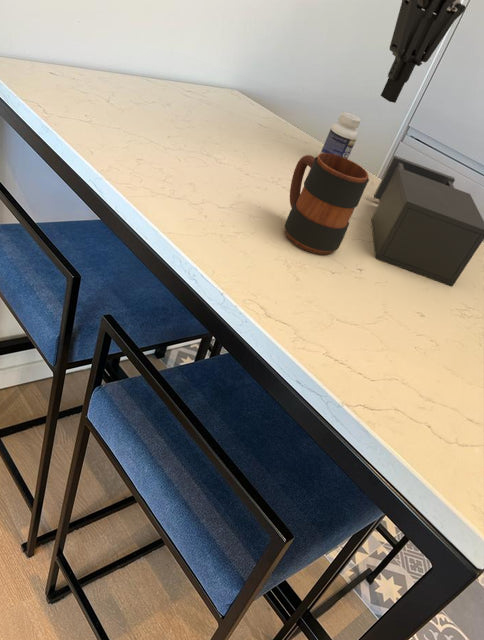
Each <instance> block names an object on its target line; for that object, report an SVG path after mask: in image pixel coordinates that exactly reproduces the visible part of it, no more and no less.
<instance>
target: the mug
mask: <svg viewBox="0 0 484 640" xmlns="http://www.w3.org/2000/svg"><path fill="white" fill-rule="evenodd" d="M320 153H321V152H320ZM320 153H318V155H317V156H316V157H315V156H313V155H311V154H306V155H303V156H302V157H301V158H299V160H298V161H297V163H296V165H295V168H294V170H293V174H292V177H291V182H290V188H289V204H290V211H289V213H288V215H287V217H286V220H285V223H284V230H285V235H286V237H287V238H288V240H289V241H290V242H291V243H293V244H294V245H295V246H297V247H298V248H299V249H302V250H305V251H306V252H310V253H312V254H316V255H330V254H332V253H334V252H335V251H337V250H338V249H339V248H340V246H341V244H342V243H343V240H344V238H345V236H346V233H347V231H348V228H349V226H350V219H351V217H352V215H353V213H354V211H355V209H356V208H357V207H358V206H359V204H360V201H361V199H362V196H363V194H364V191H365V189H366V187H367V185H368V183H369V180H370V178H369V173H368V171H367V170H366V169H365V168H363V167H362V166H361V165H360V164H358V163H356V162H354V161H353V160H350V159H349V158H348V159H346V158H344V157H341V156H338V155H334V154H329V153H321V154H320ZM307 167H309V168H310V169H309V171H308V173H307V175H306V177H305V179H304V175H305V172H306V169H307ZM303 180H304V181H303ZM302 183H303V187H302Z"/></svg>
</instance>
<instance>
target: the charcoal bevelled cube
mask: <svg viewBox="0 0 484 640" xmlns="http://www.w3.org/2000/svg"><path fill="white" fill-rule="evenodd" d="M376 207H377V208H376V209H375V211H374V212H373V216H372V217H371V219H370V222H371V229H372V238H373V248H374V255H375V259H376V260H379V261H382V262H384V263H387V264H391V265H392V266H395V267H398V268H401V269H404V270H407V271H408V272H409V271H410V272H412V273H414V274H418V275H421V276H423V277H426V278H428V279H431V280H433V281H437V282H439V283H442V284H444V285H447V286H450V287H454V285H455V284H456V282H457V280H458V279H459V278H460V276H461V274H462V273H463V272H464V270H465V268H466V267H467V266H468V264H469V263H470V261H471V259H472V258H473V256H474V255H475V254H476V252H477V251H478V249H479V247H480V246H481V244H482V243H483V242H484V218H483V217H482V214H481V213H480V211H479V209H478V207H477V205H476V203H475V200H474V199H473V197H472V194H471V193H468V192H466V191H463V190H461V189H458V188H455V187H454V188H453V187H450V186H447V185H445V184H442V183H439V182H436V181H434V180H431V179H428V178H426V177H423V176H420V175H418V174H415V173H412V172H410V171H407V170H404V169H402V168H399V167H398V168H397V170H396V172H395V174H394V176H393V178H392V180H391V182H390V184H389V186H388V188H387V190H386V192H385V194H384V196H383V198H382V199H381V201H380V203H379V204H378V205H377V206H376Z"/></svg>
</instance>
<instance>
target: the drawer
mask: <svg viewBox="0 0 484 640" xmlns="http://www.w3.org/2000/svg"><path fill="white" fill-rule="evenodd" d="M398 167H399V168H402V169H404V170H407V171H410V172H412V173H415V174H418V175H420V176H423V177H426V178H428V179H431V180H434V181H436V182H439V183H442V184H445V185H447V186H450V187H453V188H455V186H454V183H455V181H456V179H455V177H454V176H451V175H448V174H445V173H443V172H440V171H437V170H435V169H433V168H429V167H427V166H424V165H421V164H419V163H416V162H414V161H411V160H409V159H405V158H402V157H400V156H398V155H393V157H392V159H391V161H390V162H389V164H388V167H387V169H386V170H385V173H384V174H383V176H382V178H381V180H380V182H379V184H378V187H377V189H376V190H375V192H374V194H373V198H374V199H376V200H378V202H379V203H380V201H381V199H382V198H383V196H384V194H385V192H386V190H387V188H388V186H389V184H390V182H391V180H392V178H393V176H394V174H395V172H396V170H397V168H398Z"/></svg>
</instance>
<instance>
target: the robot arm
mask: <svg viewBox="0 0 484 640" xmlns="http://www.w3.org/2000/svg"><path fill="white" fill-rule="evenodd" d="M465 10H466V5H465V4H463V3H462V2H461V0H401V3H400V8H399V11H398V15H397V19H396V22H395V26H394V30H393V34H392V36H391V41H390V45H389V51H390V52H391V53H392V56H394V60H393V62H392V65H391V67H390V68H389V71H388V73H387V81H386V82H385V85H384V87H383V90H382V91H381V94H380V97H382V98H383V99H385V100H386V101H388V102H390V103H395V104H396V102H397V100H398V99H399V96H400V94H401V92H402V90H403V89H404V88H403V87H404V86H405V84H406V83H408V81H409V80H410V77H411V75H412V73H413V71H414V69H415V67H416V66H417V67H420V66H422V65H423V63H427V62H428V61H429V60H430V58H431V57H432V55H433V54H434V52H436V50H437V48H438V46H439V45H440V44H441V42H442V40H443V39H444V38H445V36H446V34H447V33H448V31H449V30H450V29H451V27H452V25H453V24H454V22H455V21H456V20H457V19H458V18H460V16H461V15H462V14H464V12H465Z"/></svg>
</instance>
